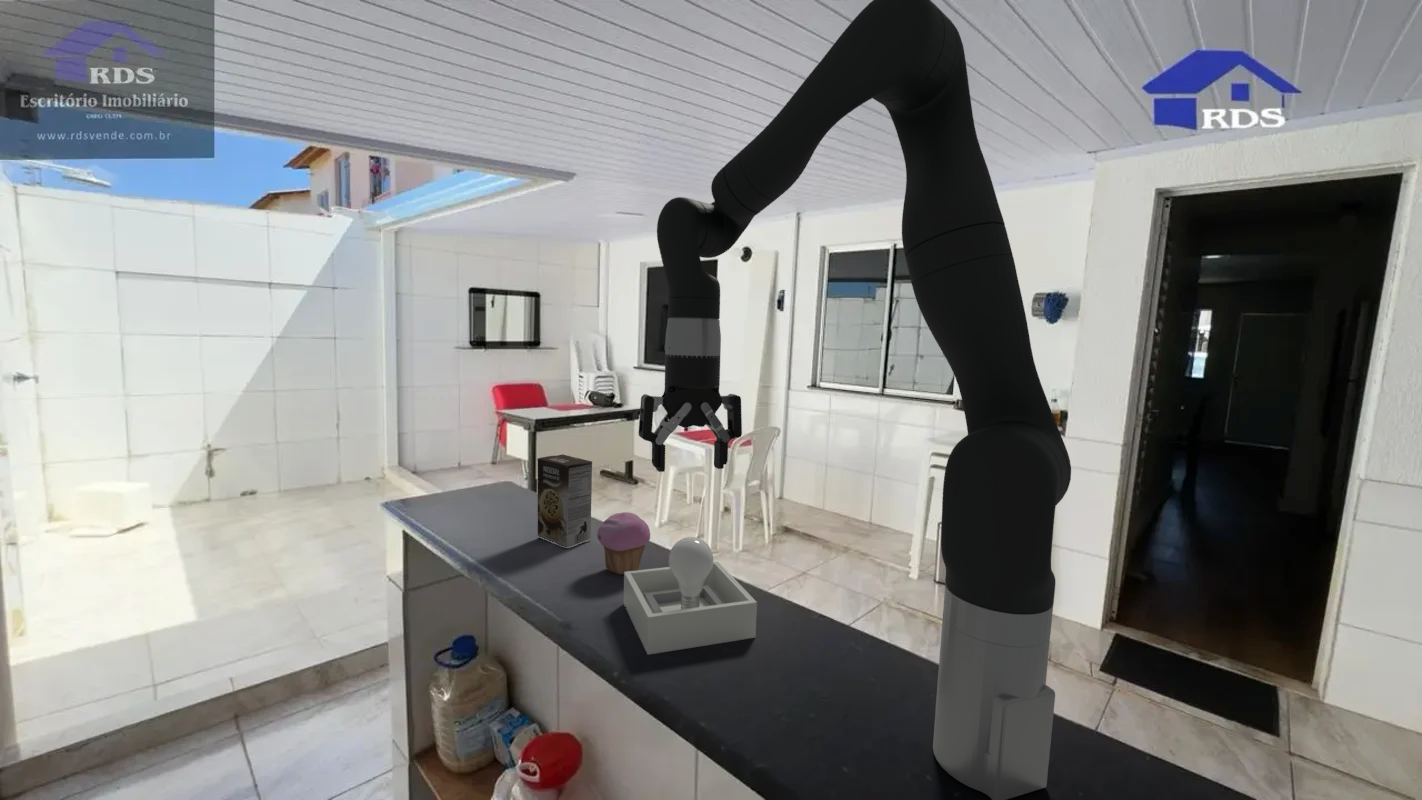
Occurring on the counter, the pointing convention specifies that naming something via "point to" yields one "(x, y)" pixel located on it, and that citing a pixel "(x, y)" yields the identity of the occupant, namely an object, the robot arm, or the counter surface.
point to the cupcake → (623, 541)
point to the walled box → (687, 610)
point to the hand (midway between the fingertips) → (690, 469)
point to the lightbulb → (690, 568)
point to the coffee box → (564, 499)
